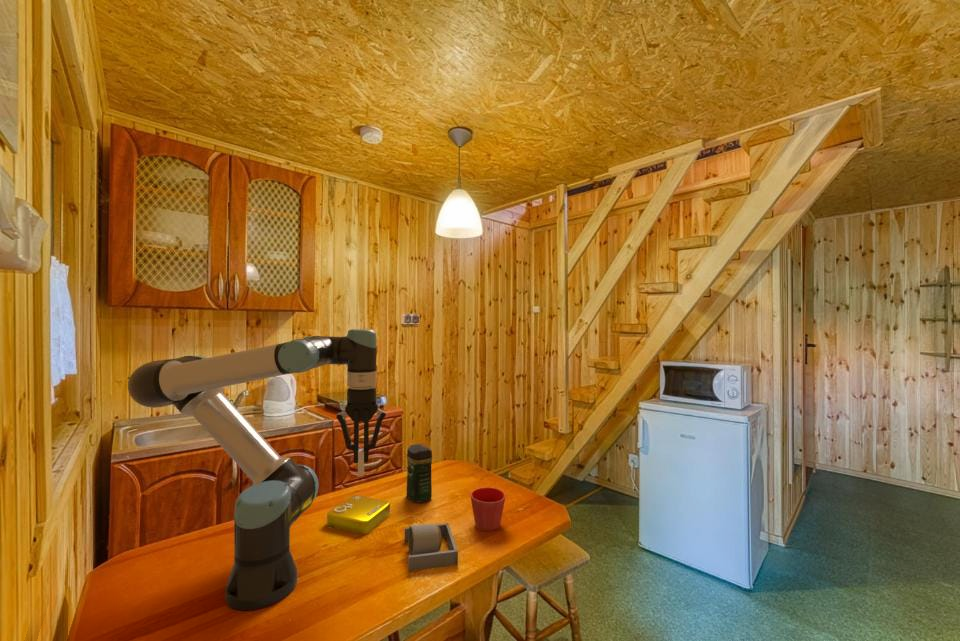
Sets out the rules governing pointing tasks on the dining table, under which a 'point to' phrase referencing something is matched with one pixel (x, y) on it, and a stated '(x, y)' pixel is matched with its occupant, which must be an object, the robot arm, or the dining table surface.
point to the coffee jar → (419, 473)
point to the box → (438, 557)
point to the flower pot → (487, 507)
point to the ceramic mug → (424, 539)
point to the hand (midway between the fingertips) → (361, 474)
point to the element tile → (358, 514)
